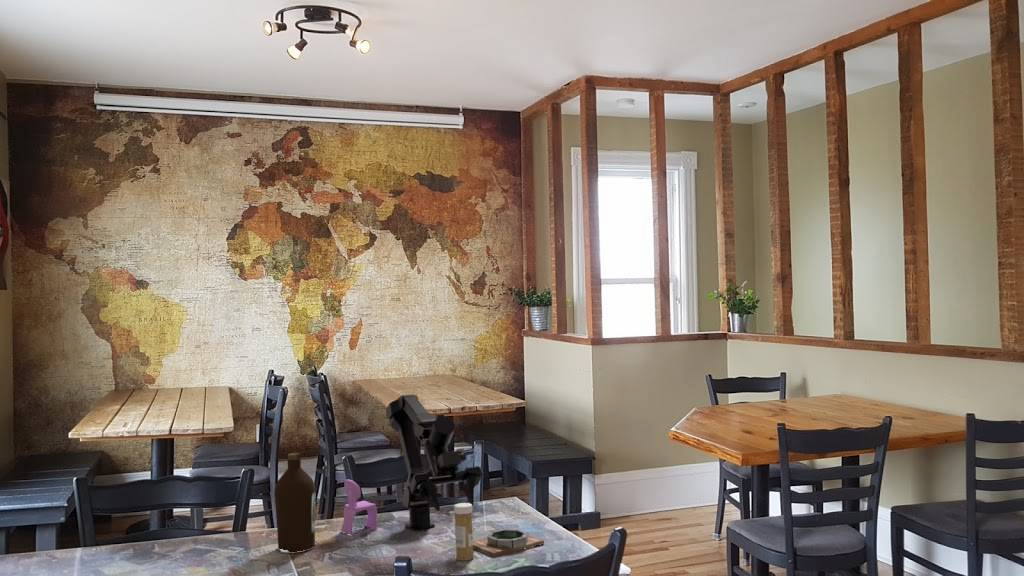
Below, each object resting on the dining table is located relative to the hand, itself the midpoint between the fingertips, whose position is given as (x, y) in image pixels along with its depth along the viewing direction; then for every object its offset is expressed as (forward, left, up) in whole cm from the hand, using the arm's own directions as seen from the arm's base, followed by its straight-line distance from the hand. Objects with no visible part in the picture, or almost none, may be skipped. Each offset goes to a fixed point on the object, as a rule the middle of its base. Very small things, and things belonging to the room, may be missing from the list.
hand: (455, 507), depth 216 cm
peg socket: (+4, +13, -12) cm, 18 cm away
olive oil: (-32, -30, -12) cm, 45 cm away
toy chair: (-36, -10, -12) cm, 39 cm away
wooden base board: (+3, +13, -12) cm, 18 cm away
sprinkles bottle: (+5, -1, -12) cm, 13 cm away
